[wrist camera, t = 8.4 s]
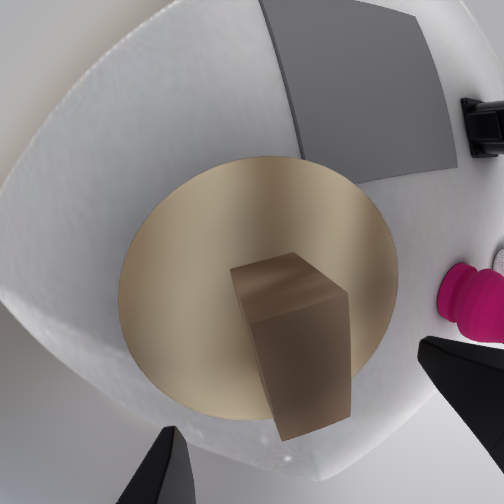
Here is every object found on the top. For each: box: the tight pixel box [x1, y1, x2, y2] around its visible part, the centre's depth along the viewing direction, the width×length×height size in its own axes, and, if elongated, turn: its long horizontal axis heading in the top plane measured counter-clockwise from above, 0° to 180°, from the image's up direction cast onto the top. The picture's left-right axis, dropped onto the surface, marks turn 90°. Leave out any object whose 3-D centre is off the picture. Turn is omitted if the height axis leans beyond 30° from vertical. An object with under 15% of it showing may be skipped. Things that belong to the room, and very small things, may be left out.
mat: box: [259, 0, 458, 183], centre depth 16 cm, size 16×16×1 cm
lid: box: [118, 156, 398, 442], centre depth 11 cm, size 15×15×6 cm
